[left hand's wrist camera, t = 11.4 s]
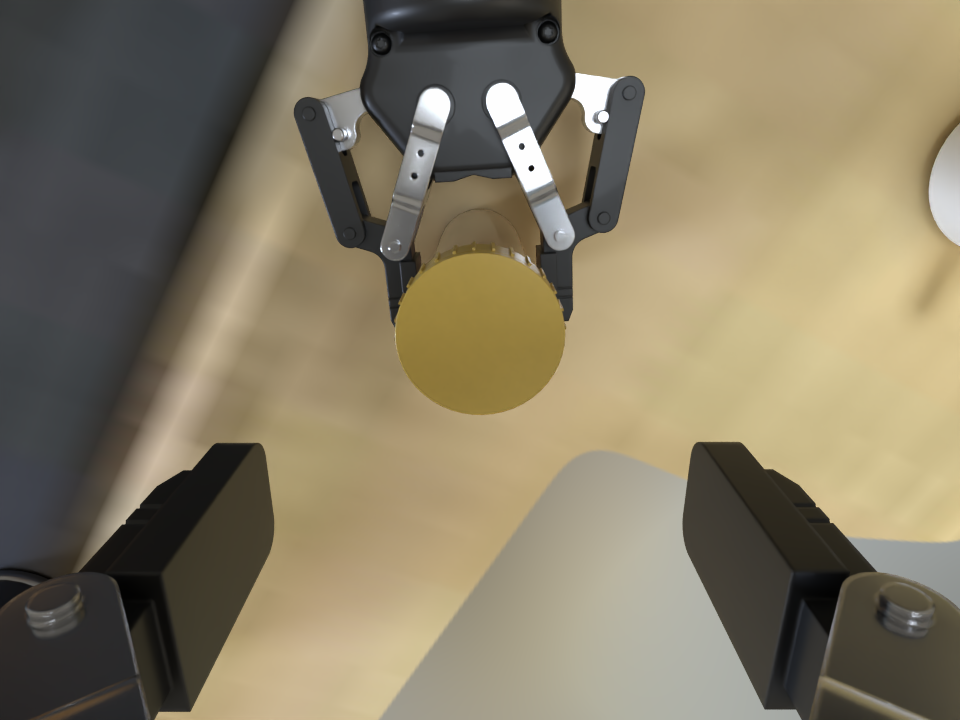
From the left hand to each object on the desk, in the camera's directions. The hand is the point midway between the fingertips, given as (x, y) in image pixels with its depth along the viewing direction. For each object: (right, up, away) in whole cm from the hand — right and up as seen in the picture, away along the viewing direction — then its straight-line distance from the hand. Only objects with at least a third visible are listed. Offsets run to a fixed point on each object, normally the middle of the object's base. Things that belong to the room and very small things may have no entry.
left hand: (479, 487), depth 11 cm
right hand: (0, +4, +17) cm, 18 cm away
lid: (0, +3, +9) cm, 9 cm away
